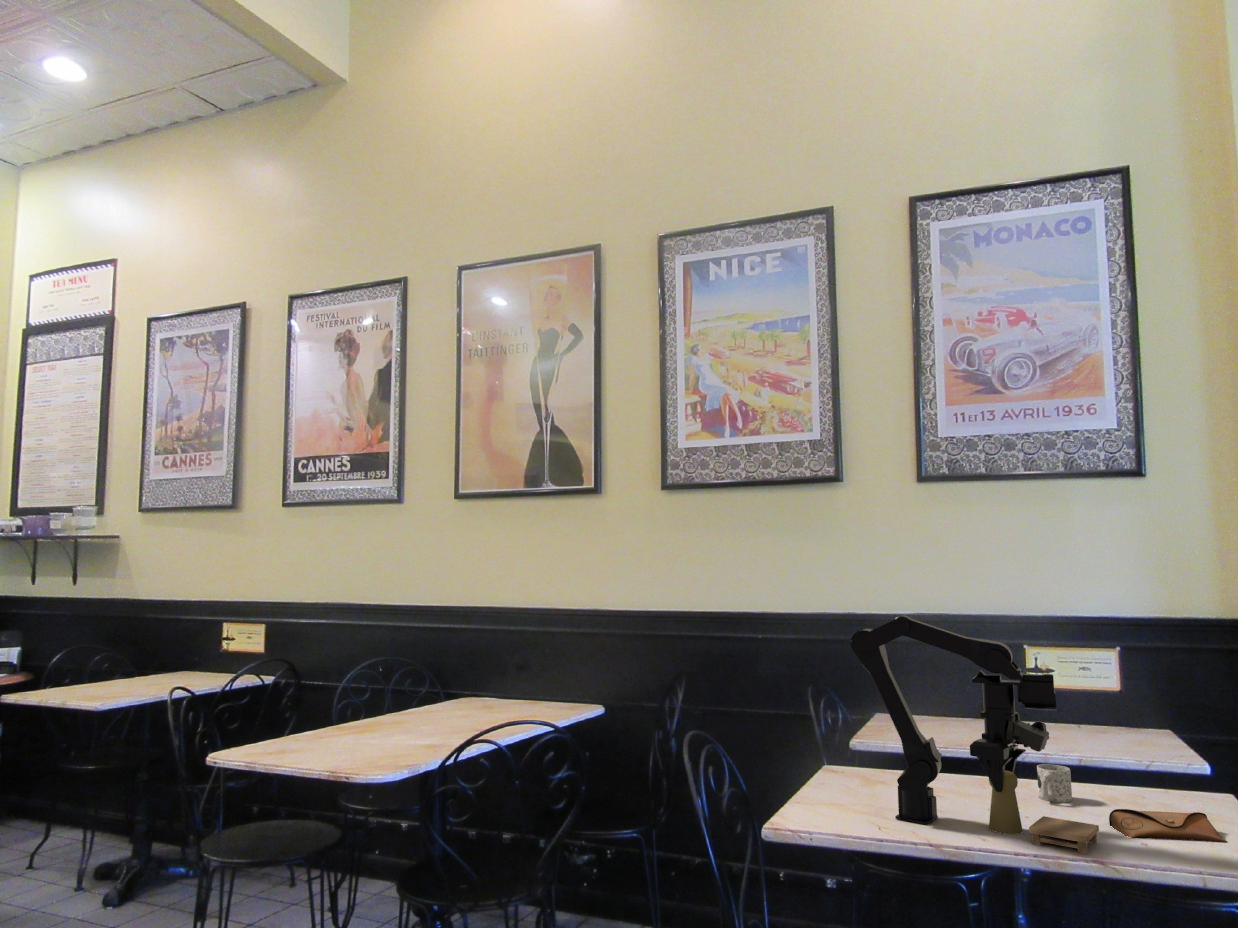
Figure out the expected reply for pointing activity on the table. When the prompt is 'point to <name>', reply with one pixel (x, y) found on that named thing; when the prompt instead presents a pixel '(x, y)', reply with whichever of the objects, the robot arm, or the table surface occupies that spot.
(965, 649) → the robot arm
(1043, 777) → the mug
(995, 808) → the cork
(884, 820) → the table surface
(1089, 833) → the footstool
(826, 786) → the table surface
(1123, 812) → the sunglasses case
